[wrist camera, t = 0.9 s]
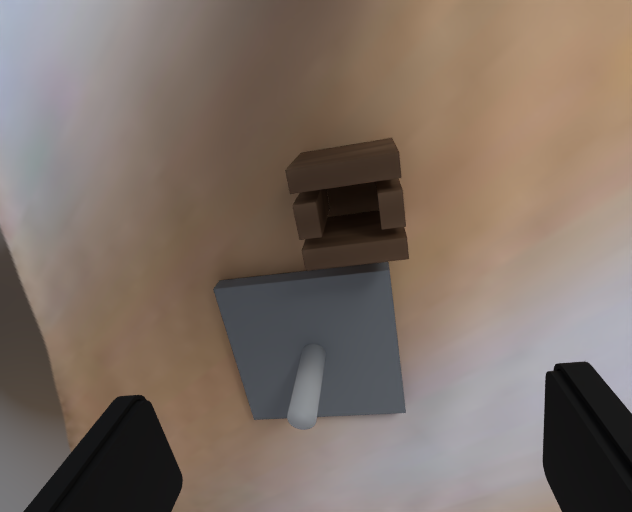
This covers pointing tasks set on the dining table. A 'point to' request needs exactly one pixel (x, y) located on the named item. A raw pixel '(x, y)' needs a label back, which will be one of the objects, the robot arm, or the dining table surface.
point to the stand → (315, 342)
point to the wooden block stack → (355, 229)
